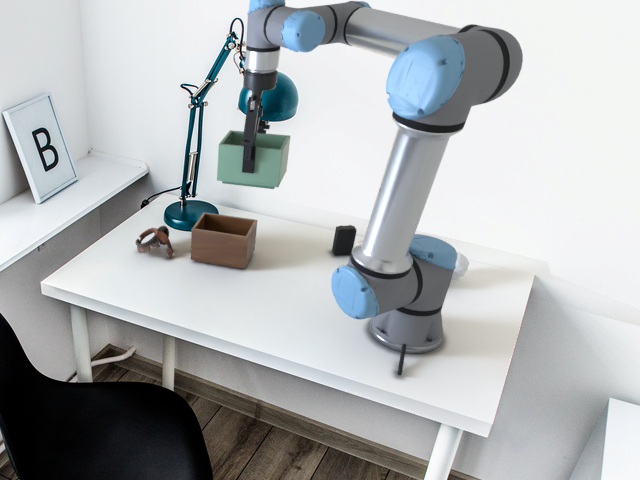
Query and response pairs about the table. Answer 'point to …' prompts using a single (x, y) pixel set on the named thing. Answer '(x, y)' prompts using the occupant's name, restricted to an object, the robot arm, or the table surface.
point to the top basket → (267, 160)
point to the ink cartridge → (344, 240)
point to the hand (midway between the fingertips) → (253, 164)
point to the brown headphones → (155, 240)
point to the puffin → (460, 266)
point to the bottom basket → (223, 240)
